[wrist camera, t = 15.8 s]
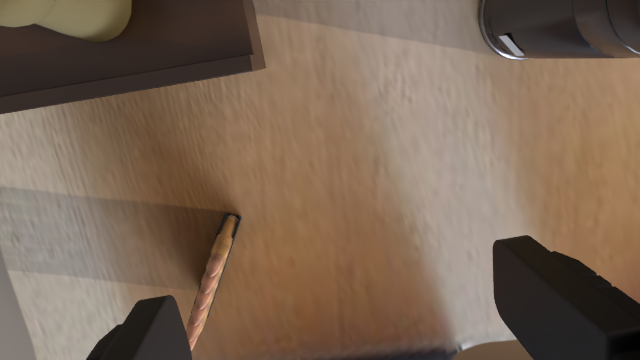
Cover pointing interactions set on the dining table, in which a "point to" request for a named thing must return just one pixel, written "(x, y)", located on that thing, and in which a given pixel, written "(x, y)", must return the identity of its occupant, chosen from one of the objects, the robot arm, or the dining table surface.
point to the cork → (70, 16)
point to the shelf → (129, 53)
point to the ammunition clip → (212, 276)
